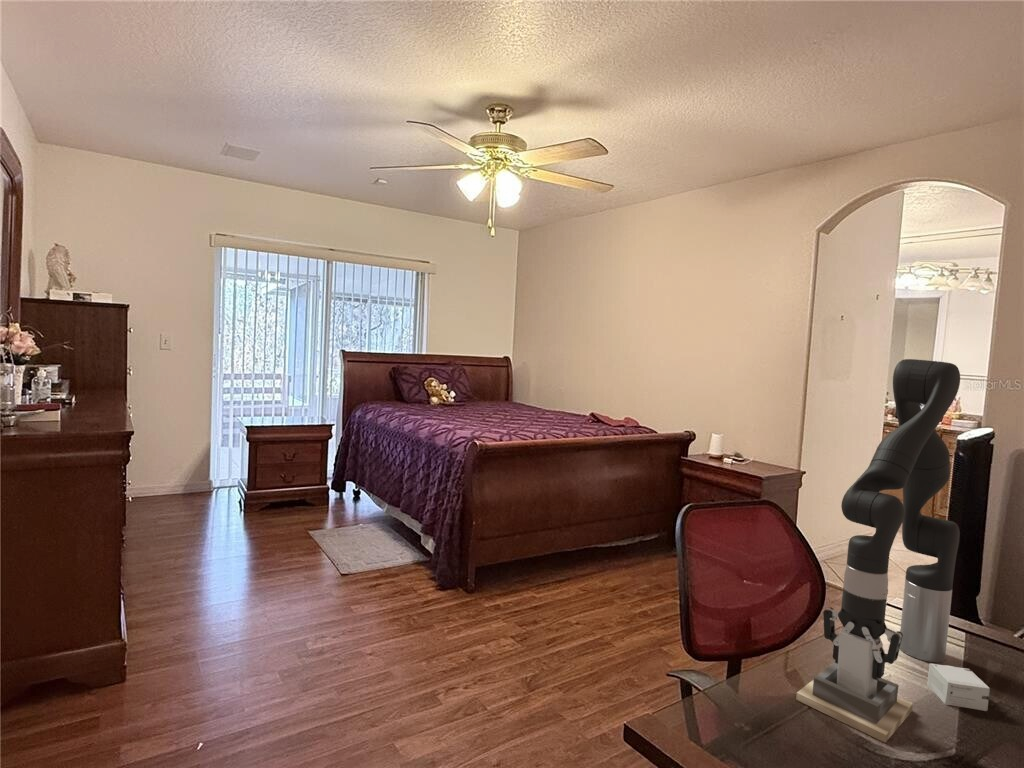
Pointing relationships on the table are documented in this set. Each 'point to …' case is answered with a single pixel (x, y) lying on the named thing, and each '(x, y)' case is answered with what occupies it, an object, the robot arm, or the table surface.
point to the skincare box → (856, 665)
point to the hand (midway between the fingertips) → (857, 670)
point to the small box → (958, 687)
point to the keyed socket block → (857, 704)
